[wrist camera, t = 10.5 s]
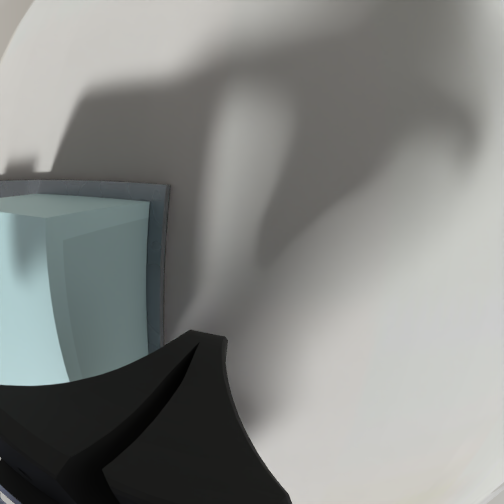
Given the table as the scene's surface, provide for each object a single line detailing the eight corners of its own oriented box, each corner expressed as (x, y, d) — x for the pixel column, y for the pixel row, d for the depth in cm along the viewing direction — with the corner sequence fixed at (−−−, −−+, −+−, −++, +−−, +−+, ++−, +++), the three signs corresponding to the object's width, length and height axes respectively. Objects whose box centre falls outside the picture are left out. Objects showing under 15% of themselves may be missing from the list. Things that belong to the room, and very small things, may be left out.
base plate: (170, 185, 12) (131, 184, 8) (165, 382, 14) (142, 421, 11) (-14, 181, 13) (-46, 184, 10) (-3, 310, 15) (-29, 324, 12)
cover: (149, 201, 11) (45, 218, 5) (150, 374, 14) (97, 453, 7) (37, 193, 12) (-48, 205, 6) (50, 336, 14) (-10, 381, 8)
